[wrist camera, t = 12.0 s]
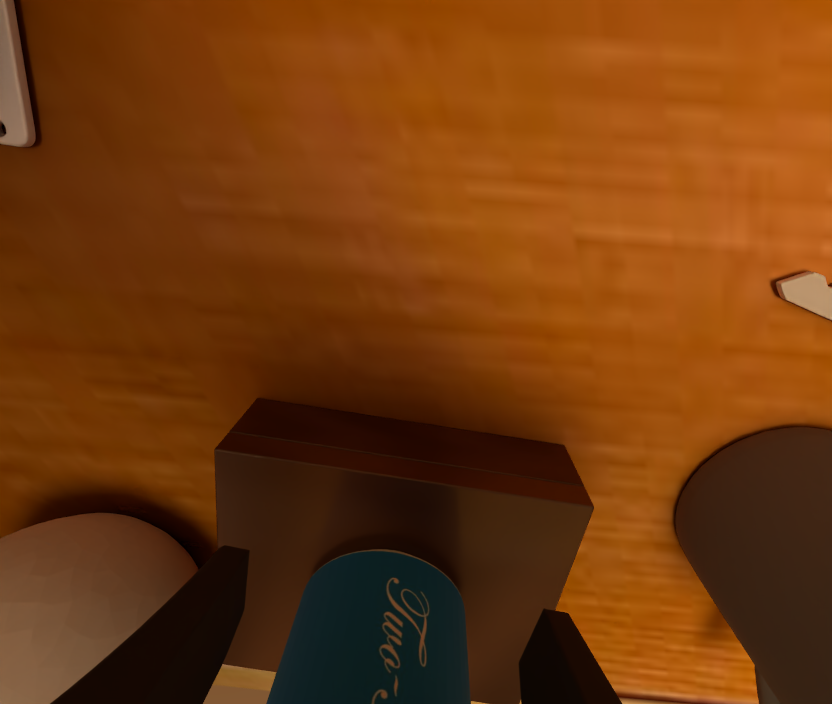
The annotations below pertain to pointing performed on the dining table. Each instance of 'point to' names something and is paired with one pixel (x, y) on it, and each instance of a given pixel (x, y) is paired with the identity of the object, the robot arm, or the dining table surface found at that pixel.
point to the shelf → (398, 522)
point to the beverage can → (376, 635)
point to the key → (808, 292)
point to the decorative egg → (78, 597)
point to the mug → (769, 555)
